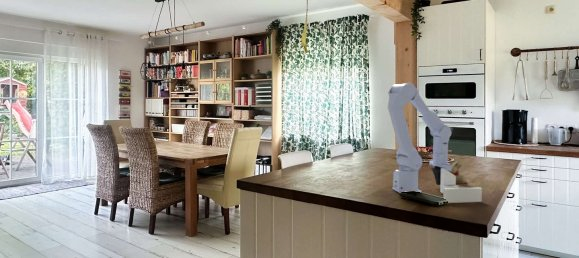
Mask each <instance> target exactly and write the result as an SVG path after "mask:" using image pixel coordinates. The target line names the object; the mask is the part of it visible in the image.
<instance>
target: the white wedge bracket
mask: <svg viewBox="0 0 579 258" xmlns="http://www.w3.org/2000/svg"><path fill="white" fill-rule="evenodd" d="M439 186H440V189H439V190H440V191H439V192H440V193H441V194H443V193H444V188H460V186H459V185H457V183H456V176H455V175H453V174H452V173H450V172H448V171H447V170H445V169H443V168H441V183H440V185H439Z"/></svg>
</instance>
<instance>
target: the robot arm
mask: <svg viewBox="0 0 579 258" xmlns="http://www.w3.org/2000/svg"><path fill="white" fill-rule="evenodd" d="M387 94H388V104H387V109H388V113H389V117H390V120H391V123H392V128H393V131H394V135H395V139H396V143H397V146H398V149H397V150H396V164H397V165H398V166H399V169H394V171H393V173H392V174H393V175H392V190H393V191H395V192H397V193H399V194H402V193H401V192H405V191H416V192H420V193H422V190H420V189H419V171H420V169H421V167H422V166H423V158H422V156H421V155H420V154H419V150H418V149H417V148H416V147H415V146H414V145H413V142H412V138H411V135H410V131H409V127H408V123H407V119H406V116H405V112H404V108H405V107H406V105H407V104H408V103H411V105H413V107H415V109H416V110H417V111H418V112H419V113H420V115H422V117H421V118H422V119H421V120H422V122H424V124H425V126H427V127H428V129H429V131H430V132H429V134H430V136H432V137H433V142H432V143H433V145H432V147H433V148H432V160H429V163H428V164H429V166H433V167H431V171H432V173H433V176H434V179H435V185H437V186H440V183H441V168H443V169H445V170H447V171H451V170H452V165H451V164H450V163H449V162H448V158H449V157H448V154H449V152H448V151H449V142H450V137H451V136H452V130H451V128H450V126H449V125H447V124H445V123H444V121H443V120H442V119H441V118H440V117H439V115H438V113H437V111H434V110H430V108H429V107H428V106H427V104H426V102H425V101H424V100H423V98H422V97H421V95H420V94H419V89H418V88H416V86H415V85H414V84H413V83H411V82H406V83H401V84H400V83H399V84H395V83H394V84H393V85H392V86H391V87H390V88H389V89H388V92H387Z"/></svg>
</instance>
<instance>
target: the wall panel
mask: <svg viewBox="0 0 579 258" xmlns="http://www.w3.org/2000/svg"><path fill="white" fill-rule="evenodd" d="M442 194H443V198H444V199H446V200H447V201H448V203H447V204H453V203H454V204H455V203H456V204H457V203H479V202H480V203H481V202H482V201H483V200H482V199H483V198H482V196H483V195H482V194H483V188H482V187H477V186H476V187H459V188H444V193H442Z"/></svg>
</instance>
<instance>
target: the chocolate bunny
mask: <svg viewBox="0 0 579 258" xmlns="http://www.w3.org/2000/svg"><path fill="white" fill-rule="evenodd" d="M451 166H452V170H451V171H448V172H450V173H452V174H453V175H455V176H456V184H466V183H467V182H468V181H467V178H466V177H465V175H464V174H463V173H461V172H460V171H459V170H460V168H461V167H462V166H463V165H462V163H459V161H458V160H456V161H455V162H454V163H453V164H452V165H451Z"/></svg>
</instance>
